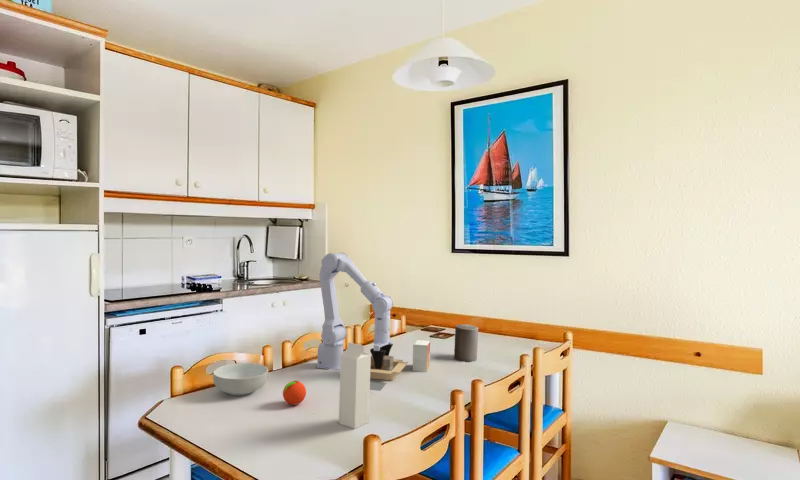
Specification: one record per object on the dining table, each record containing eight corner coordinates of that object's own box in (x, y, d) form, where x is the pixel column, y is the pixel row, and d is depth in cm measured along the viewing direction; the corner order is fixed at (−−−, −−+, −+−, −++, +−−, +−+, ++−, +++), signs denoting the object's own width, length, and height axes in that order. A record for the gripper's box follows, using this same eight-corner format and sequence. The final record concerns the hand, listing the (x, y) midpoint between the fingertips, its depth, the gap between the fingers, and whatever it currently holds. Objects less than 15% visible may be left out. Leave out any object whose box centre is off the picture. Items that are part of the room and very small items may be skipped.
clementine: (291, 411, 137) (292, 387, 137) (274, 406, 141) (275, 382, 141) (310, 403, 144) (311, 380, 144) (294, 398, 148) (294, 375, 148)
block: (368, 374, 173) (369, 357, 173) (372, 370, 178) (373, 354, 178) (389, 376, 171) (390, 359, 171) (393, 372, 176) (393, 356, 176)
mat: (346, 387, 159) (346, 386, 159) (354, 380, 166) (354, 379, 166) (380, 391, 156) (380, 390, 156) (386, 384, 163) (386, 383, 163)
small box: (426, 373, 177) (427, 345, 177) (412, 371, 179) (413, 344, 178) (429, 367, 185) (430, 340, 185) (415, 365, 186) (416, 339, 186)
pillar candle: (451, 360, 196) (452, 324, 196) (457, 354, 205) (458, 320, 205) (474, 363, 192) (475, 327, 192) (479, 357, 202) (481, 322, 201)
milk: (353, 417, 135) (355, 340, 134) (369, 422, 131) (371, 343, 131) (338, 423, 130) (340, 343, 129) (354, 429, 126) (356, 347, 126)
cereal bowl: (215, 404, 141) (216, 380, 141) (210, 387, 156) (210, 365, 156) (272, 396, 149) (273, 374, 149) (262, 380, 164) (262, 360, 164)
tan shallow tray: (350, 379, 168) (350, 369, 168) (366, 365, 185) (366, 356, 185) (397, 384, 163) (397, 374, 163) (408, 369, 181) (409, 360, 181)
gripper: (387, 334, 166) (386, 372, 166) (397, 326, 180) (396, 361, 180) (368, 332, 168) (367, 370, 168) (379, 324, 182) (379, 359, 182)
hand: (381, 365), depth 174 cm, fingers open, 7 cm apart
